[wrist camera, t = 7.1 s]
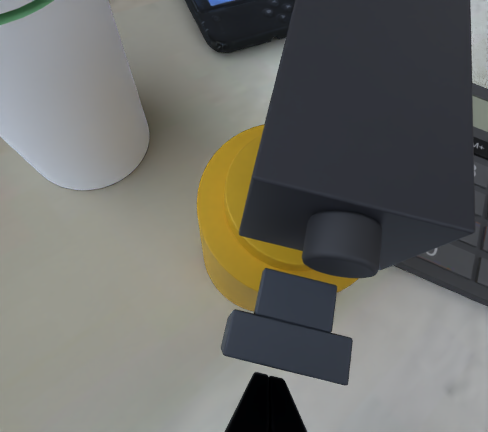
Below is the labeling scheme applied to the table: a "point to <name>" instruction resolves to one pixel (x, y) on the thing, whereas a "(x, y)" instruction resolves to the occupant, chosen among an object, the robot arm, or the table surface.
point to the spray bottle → (348, 149)
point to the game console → (241, 21)
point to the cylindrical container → (69, 92)
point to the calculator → (475, 245)
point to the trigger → (291, 329)
